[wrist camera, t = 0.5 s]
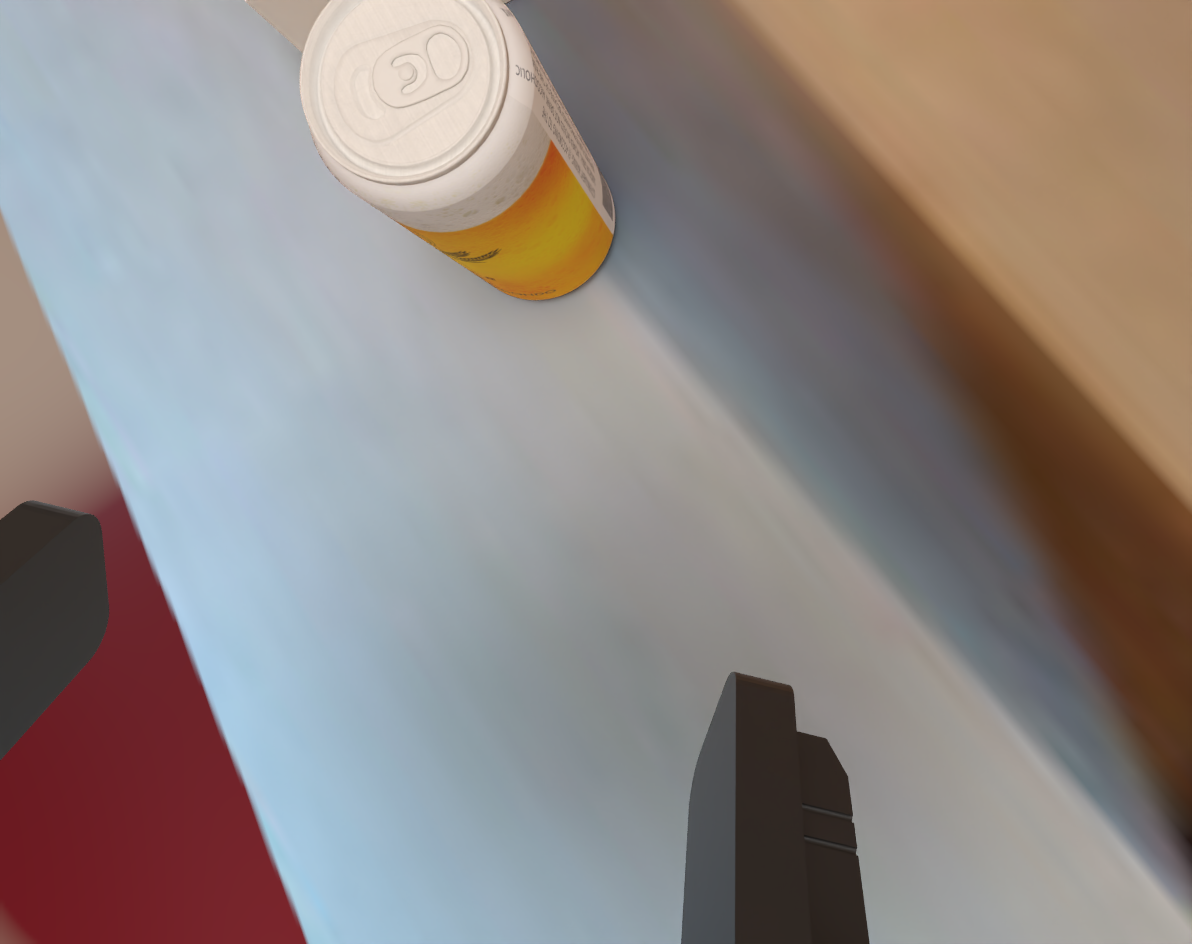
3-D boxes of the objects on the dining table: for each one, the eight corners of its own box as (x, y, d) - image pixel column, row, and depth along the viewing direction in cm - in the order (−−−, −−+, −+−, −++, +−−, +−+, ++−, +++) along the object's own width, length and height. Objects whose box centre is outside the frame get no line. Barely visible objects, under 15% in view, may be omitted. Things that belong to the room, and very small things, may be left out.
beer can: (448, 188, 38) (250, 13, 23) (586, 126, 37) (470, -98, 22) (500, 326, 38) (332, 238, 23) (640, 268, 37) (559, 135, 22)
